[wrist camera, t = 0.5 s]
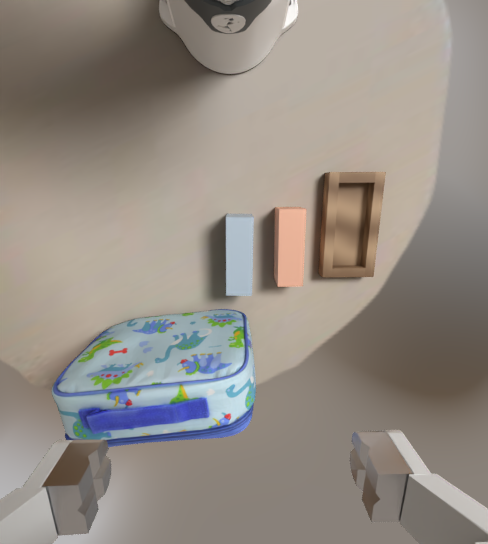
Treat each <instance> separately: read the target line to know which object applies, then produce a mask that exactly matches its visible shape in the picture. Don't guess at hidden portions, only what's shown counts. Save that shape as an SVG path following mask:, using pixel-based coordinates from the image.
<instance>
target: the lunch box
mask: <svg viewBox="0 0 488 544" xmlns="http://www.w3.org/2000/svg"><path fill="white" fill-rule="evenodd" d="M255 392H256V379H255V366H254V356H253V348H252V339H251V333H250V328H249V323H248V319H247V317H246V315H245V314H244V313H242V312H239V311H235V310H228V309H218V310H210V311H203V312H194V313H185V314H172V315H163V316H154V317H145V318H138V319H133V320H130V321H127V322H124V323H121V324H117V325H115V326H112V327H111V328H109V329H107V330H106V331H104V332H103V333H101V334H100V335H99V336H98V337H96V338H95V339H94V340H93V341H92V342H91V343H90V344H89V345H88V346H87V347H86V349H85V350H84V351H83V352H82V353H80V354H79V355H78V356H77V357H76V358H75V359H74V360H73V361H72V362H71V363H70V364H69V365H68V367H67V368H66V369H65V370H64V371H63V372H62V373H61V375H60V376H59V377H58V379H57V380H56V382H55V383H54V385H53V387H52V396H53V398H54V400H55V402H56V404H57V407H58V410H59V412H60V415H61V419H62V422H63V426H64V428H65V432H66V433H65V438H66V440H107V443H108V447H112V446H119V445H129V444H138V443H146V442H161V441H174V440H190V439H207V438H222V437H228V436H232V435H235V434H238V433H240V432H241V431H243V430H244V429H245V428H246V427H247V426H248V425H249V423H250V420H251V418H252V411H253V404H254V400H255Z"/></svg>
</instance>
